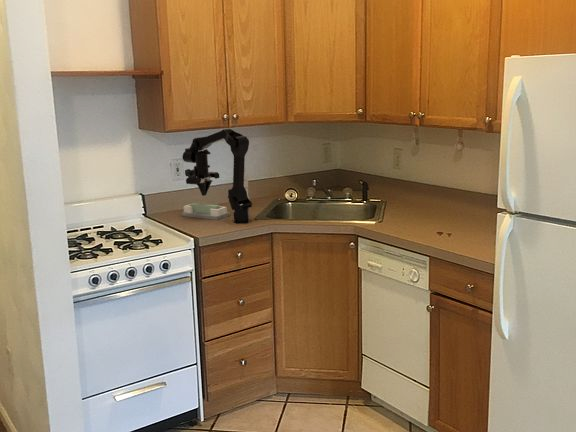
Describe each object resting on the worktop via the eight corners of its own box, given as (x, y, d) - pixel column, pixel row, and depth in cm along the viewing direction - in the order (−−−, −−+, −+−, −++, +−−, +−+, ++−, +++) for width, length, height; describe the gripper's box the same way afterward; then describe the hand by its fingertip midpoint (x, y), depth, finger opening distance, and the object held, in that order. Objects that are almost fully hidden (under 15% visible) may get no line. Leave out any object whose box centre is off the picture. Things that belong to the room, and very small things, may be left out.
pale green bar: (220, 213, 317) (219, 205, 316) (216, 214, 315) (215, 206, 314) (194, 210, 326) (194, 202, 325) (190, 211, 323) (190, 203, 322)
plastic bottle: (242, 208, 333) (239, 169, 328) (234, 206, 338) (232, 167, 334) (252, 206, 337) (250, 167, 332) (245, 204, 342) (243, 166, 337)
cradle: (229, 215, 319) (229, 206, 318) (217, 220, 311) (216, 210, 310) (194, 211, 331) (194, 202, 330) (181, 215, 322) (180, 206, 321)
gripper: (201, 159, 327) (203, 190, 330) (176, 165, 311) (178, 198, 315) (219, 160, 321) (221, 192, 324) (194, 167, 306) (196, 199, 309)
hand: (204, 195), depth 318 cm, fingers closed
